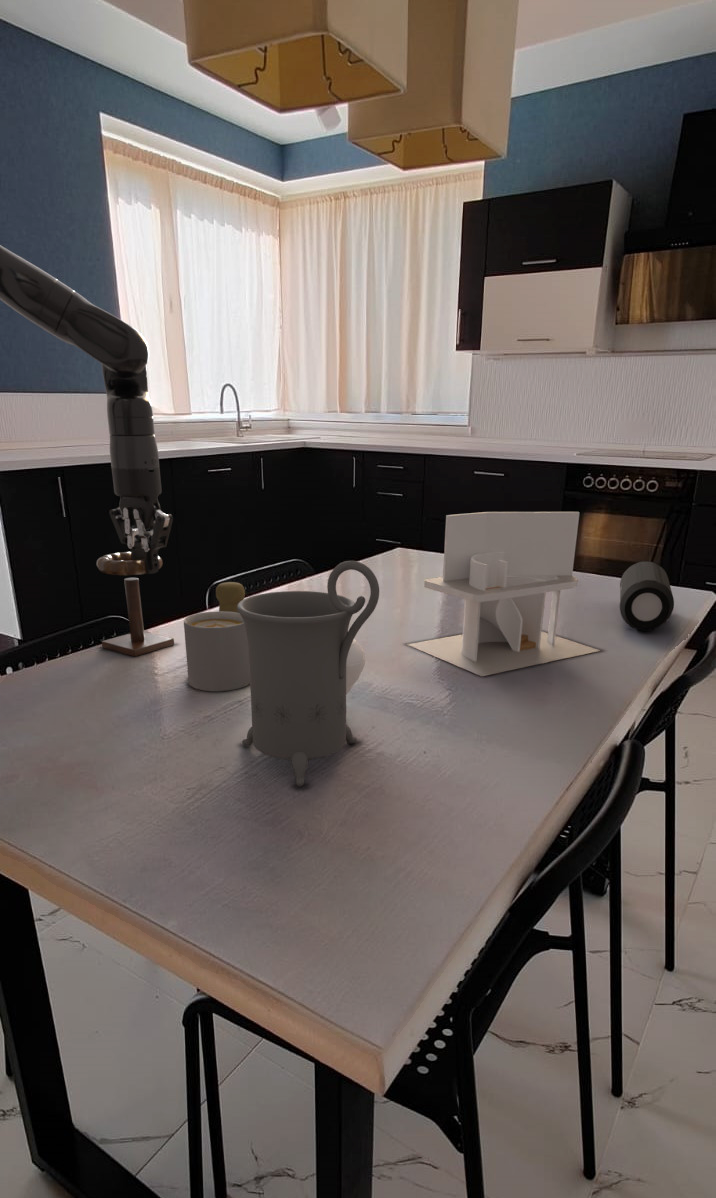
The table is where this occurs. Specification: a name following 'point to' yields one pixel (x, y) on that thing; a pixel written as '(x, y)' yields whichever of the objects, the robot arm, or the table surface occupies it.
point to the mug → (302, 668)
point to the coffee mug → (217, 651)
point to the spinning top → (354, 664)
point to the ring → (122, 564)
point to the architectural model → (506, 588)
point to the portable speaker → (645, 596)
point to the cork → (229, 596)
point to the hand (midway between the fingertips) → (146, 571)
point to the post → (136, 628)
